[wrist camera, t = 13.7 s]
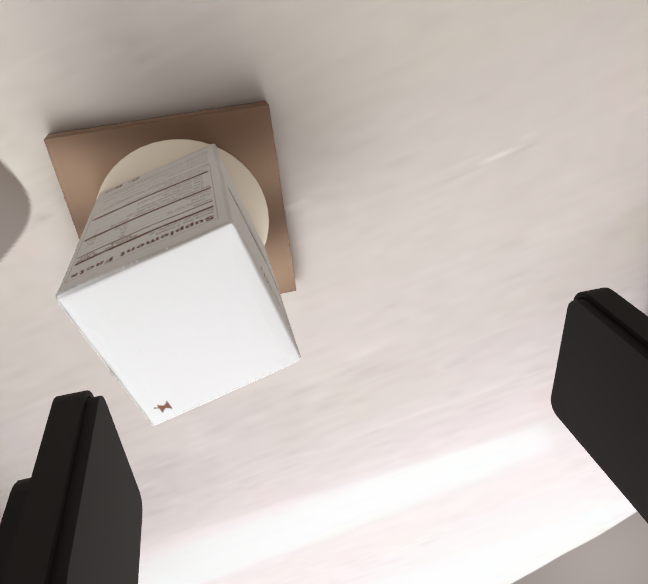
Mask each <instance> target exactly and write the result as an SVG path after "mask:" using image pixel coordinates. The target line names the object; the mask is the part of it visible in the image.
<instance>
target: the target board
mask: <svg viewBox="0 0 648 584" xmlns="http://www.w3.org/2000/svg"><path fill="white" fill-rule="evenodd" d="M44 142H45V144H46V147H47V150H48V153H49V156H50V158H51V161H52V164H53V167H54V169H55V172H56V175H57V178H58V181H59V183H60V186H61V189H62V192H63V194H64V197H65V200H66V203H67V206H68V208H69V211H70V214H71V217H72V220H73V222H74V225H75V228H76V231H77V233H78V236H79V239H80V238H81V236H82V233H83V231H84V228H85V226H86V224H87V221H88V219H89V217H90V214H91V212H92V209H93V207H94V205H95V203H96V200H97V198H98V196H99V194H100V193H102V192H105V191H107V190H109V189H111V188H114V187H116V186H118V185H121V184H123V183H125V182H127V181H129V180H132V179H134V178H136V177H138V176H141V175H143V174H146V173H148V172H150V171H152V170H155V169H157V168H159V167H161V166H164V165H166V164H168V163H171V162H173V161H175V160H177V159H180V158H182V157H184V156H186V155H189V154H191V153H193V152H195V151H198V150H200V149H202V148H204V147H206V146H208V145H210V144H215V145H216V147H217V149H218V151H219V154H220V156H221V158H222V160H223V162H224V165H225V167H226V169H227V171H228V173H229V175H230V177H231V179H232V181H233V183H234V185H235V188H236V190H237V192H238V194H239V196H240V198H241V200H242V202H243V204H244V206H245V208H246V210H247V213H248V215H249V217H250V219H251V221H252V223H253V225H254V227H255V229H256V231H257V234H258V235H259V237H260V239H261V241H262V243H263V244H264V246H265V249H266V252H267V255H268V258H269V261H270V264H271V267H272V270H273V273H274V276H275V279H276V282H277V286H278V289H279V292H280V294H281V293H286V292H291V291H296V285H295V278H294V272H293V265H292V258H291V252H290V245H289V238H288V231H287V225H286V218H285V211H284V205H283V198H282V191H281V185H280V178H279V171H278V164H277V158H276V151H275V144H274V138H273V131H272V124H271V118H270V111H269V105H268V103H267V102H266V101H263V102H257V103H250V104H244V105H237V106H230V107H224V108H217V109H211V110H204V111H198V112H191V113H185V114H178V115H172V116H165V117H159V118H152V119H146V120H139V121H133V122H126V123H120V124H113V125H107V126H100V127H94V128H87V129H81V130H74V131H67V132H61V133H54V134H48V135H47V137H46V138H45V139H44Z"/></svg>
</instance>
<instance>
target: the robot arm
mask: <svg viewBox="0 0 648 584" xmlns="http://www.w3.org/2000/svg"><path fill="white" fill-rule="evenodd" d="M551 404H552V408H553V410H554V412H555V414H556V415H557V417H558V418H559V419H560V420H561V421H562V422H563V424H564V425H565V426H566V427H567V428H568V430H569V431H570V432H571V433H572V434H573V435H574V437H575V438H576V439H577V440H578V441H579V443H580V444H581V445H582V446H583V447H584V448H585V450H586V451H587V452H588V453H589V454H590V456H591V457H592V458H593V459H594V460H595V461H596V463H597V464H598V465H599V466H600V467H601V469H602V470H603V471H604V472H605V473H606V474H607V476H608V477H609V478H610V479H611V480H612V482H613V483H614V484H615V485H616V486H617V487H618V489H619V490H620V491H621V492H622V493H623V495H624V496H625V497H626V498H627V499H628V500H629V502H630V503H631V504H632V505H633V506H634V508H635V509H636V510H637V511H638V512H639V513H640V515H641V516H642V517H643V518H644V519H645V520H646V522H647V523H648V316H646V315H645V314H644V313H642V312H641V311H640V310H638V309H637V308H636V307H634V306H633V305H632V304H630V303H629V302H628V301H626V300H625V299H624V298H622V297H621V296H620V295H618V294H617V293H616V292H614V291H613V290H611V289H609V288H599V289H594V290H589V291H584V292H580V293H578V294H577V295H576V296H575V297H574V300H573V301H571V302H570V303H569V305H568V308H567V314H566V319H565V324H564V330H563V335H562V341H561V346H560V351H559V357H558V362H557V368H556V373H555V379H554V384H553V389H552V395H551ZM141 526H142V500H141V495H140V492H139V489H138V486H137V484H136V481H135V478H134V476H133V473H132V470H131V468H130V465H129V462H128V460H127V457H126V454H125V452H124V449H123V446H122V444H121V441H120V438H119V436H118V433H117V430H116V428H115V425H114V422H113V420H112V417H111V414H110V412H109V409H108V406H107V404H106V401H105V399H104V397H103V396H97V397H94V396H93V394H92V393H91V392H90V391H88V390H87V391H82V392H77V393H72V394H67V395H62V396H57V397H55V398H54V400H53V403H52V406H51V410H50V413H49V417H48V420H47V424H46V427H45V431H44V434H43V438H42V442H41V445H40V449H39V452H38V456H37V459H36V463H35V466H34V470H33V473H32V477H31V478H28V479H23V480H18V481H17V482H16V483H15V484H14V486H13V488H12V490H11V492H10V495H9V498H8V502H7V505H6V508H5V511H4V514H3V517H2V521H1V524H0V584H138V574H139V558H140V542H141Z"/></svg>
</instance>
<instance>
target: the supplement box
mask: <svg viewBox="0 0 648 584" xmlns="http://www.w3.org/2000/svg"><path fill="white" fill-rule="evenodd" d="M56 299H57V302H58V303H59V305H60V306H61V307H62V309H63V310H64V311H65V313H66V314H67V315H68V317H69V318H70V319H71V320H72V322H73V323H74V324H75V325H76V327H77V328H78V329H79V331H80V332H81V333H82V335H83V336H84V337H85V339H86V340H87V341H88V342H89V344H90V345H91V346H92V348H93V349H94V350H95V352H96V353H97V354H98V355H99V357H100V358H101V359H102V361H103V362H104V364H105V365H106V366H107V368H108V369H109V371H110V372H111V374H112V375H113V376H114V377H115V378H116V379H117V380H118V382H119V383H120V384H121V386H122V387H123V388H124V389H125V391H126V392H127V393H128V395H129V396H130V397H131V399H132V400H133V401H134V402H135V404H136V405H137V406H138V408H139V409H140V410H141V412H142V413H143V414H144V416H145V417H146V418H147V420H148V421H149V423H150V424H151V425H153V426H155V425H157V424H160V423H162V422H164V421H166V420H168V419H171V418H173V417H176V416H178V415H180V414H182V413H185V412H187V411H189V410H191V409H194V408H196V407H198V406H200V405H203V404H205V403H207V402H209V401H211V400H214V399H216V398H218V397H220V396H223V395H225V394H227V393H229V392H231V391H234V390H236V389H238V388H240V387H243V386H245V385H247V384H249V383H252V382H254V381H256V380H258V379H260V378H263V377H265V376H267V375H269V374H272V373H274V372H276V371H279V370H281V369H283V368H285V367H287V366H289V365H291V364H293V363H295V362H297V361H299V360H300V359H301V356H300V353H299V350H298V347H297V345H296V342H295V339H294V335H293V332H292V329H291V326H290V323H289V320H288V317H287V314H286V311H285V308H284V305H283V302H282V298H281V295H280V292H279V289H278V286H277V282H276V279H275V276H274V273H273V270H272V267H271V264H270V261H269V258H268V255H267V252H266V249H265V246H264V244H263V243H262V241H261V239H260V237H259V235H258V234H257V231H256V229H255V227H254V225H253V223H252V221H251V219H250V217H249V215H248V213H247V210H246V208H245V206H244V204H243V202H242V200H241V198H240V196H239V194H238V192H237V190H236V188H235V185H234V183H233V181H232V179H231V177H230V175H229V173H228V171H227V169H226V167H225V165H224V162H223V160H222V158H221V156H220V154H219V151H218V149H217V147H216V145H215V144H210V145H208V146H206V147H204V148H202V149H200V150H198V151H195V152H193V153H191V154H189V155H186V156H184V157H182V158H180V159H177V160H175V161H173V162H171V163H168V164H166V165H164V166H161V167H159V168H157V169H155V170H152V171H150V172H148V173H146V174H143V175H141V176H138V177H136V178H134V179H132V180H129V181H127V182H125V183H123V184H121V185H118V186H116V187H114V188H111V189H109V190H107V191H105V192H102V193H100V194H99V196H98V198H97V200H96V203H95V205H94V207H93V209H92V212H91V214H90V217H89V219H88V221H87V224H86V226H85V228H84V231H83V233H82V236H81V238H80V241H79V243H78V245H77V248H76V250H75V253H74V255H73V258H72V260H71V263H70V265H69V267H68V270H67V272H66V275H65V277H64V279H63V282H62V284H61V286H60V288H59V290H58V292H57V294H56Z"/></svg>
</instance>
